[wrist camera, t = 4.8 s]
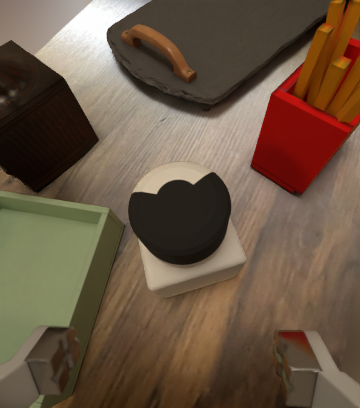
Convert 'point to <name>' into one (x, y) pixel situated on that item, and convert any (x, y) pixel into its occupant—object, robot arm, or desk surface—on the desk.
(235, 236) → the medicine bottle
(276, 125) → the french fries container
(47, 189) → the desk surface
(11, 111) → the pepper mill
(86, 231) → the bin
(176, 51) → the serving tray
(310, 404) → the robot arm
